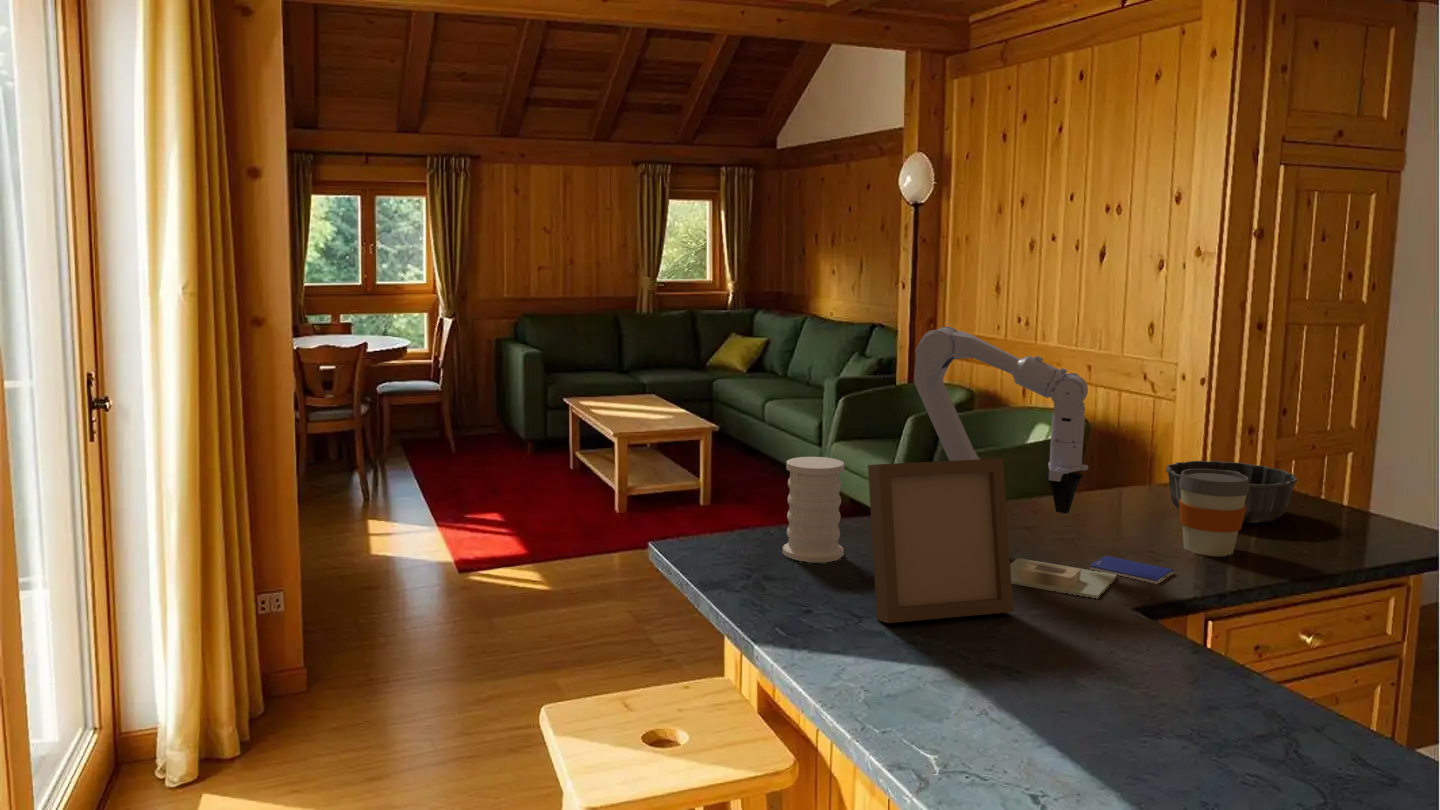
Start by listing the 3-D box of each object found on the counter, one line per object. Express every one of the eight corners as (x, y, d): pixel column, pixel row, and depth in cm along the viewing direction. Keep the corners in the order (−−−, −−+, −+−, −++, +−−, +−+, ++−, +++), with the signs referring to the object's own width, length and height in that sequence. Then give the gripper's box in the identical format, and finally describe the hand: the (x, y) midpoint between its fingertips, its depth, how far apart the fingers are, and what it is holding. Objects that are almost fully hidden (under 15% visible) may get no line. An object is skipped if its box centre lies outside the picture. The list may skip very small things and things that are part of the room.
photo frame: (1012, 617, 176) (1021, 465, 172) (887, 629, 171) (893, 471, 167) (968, 588, 190) (975, 447, 187) (851, 598, 185) (856, 452, 181)
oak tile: (1029, 571, 199) (1019, 580, 194) (1030, 560, 198) (1020, 569, 193) (1080, 580, 194) (1071, 589, 189) (1080, 569, 194) (1071, 577, 189)
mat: (993, 580, 195) (993, 577, 195) (1017, 561, 207) (1017, 558, 207) (1097, 599, 186) (1097, 595, 186) (1116, 577, 197) (1116, 574, 197)
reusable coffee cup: (1229, 542, 222) (1236, 469, 219) (1253, 560, 209) (1260, 483, 207) (1165, 539, 223) (1171, 467, 220) (1185, 557, 210) (1191, 481, 208)
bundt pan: (1139, 503, 254) (1142, 460, 252) (1241, 499, 258) (1245, 457, 257) (1209, 533, 228) (1213, 486, 227) (1321, 528, 233) (1325, 482, 231)
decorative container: (822, 567, 202) (825, 471, 199) (770, 555, 209) (772, 463, 206) (854, 553, 211) (857, 461, 208) (803, 542, 218) (806, 453, 215)
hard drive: (1089, 564, 202) (1157, 578, 194) (1107, 554, 208) (1173, 568, 200) (1089, 572, 202) (1156, 587, 194) (1106, 562, 208) (1173, 576, 200)
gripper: (1078, 449, 194) (1074, 523, 196) (1098, 436, 206) (1094, 507, 208) (1039, 444, 198) (1034, 517, 200) (1060, 432, 210) (1056, 501, 212)
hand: (1062, 512), depth 204 cm, fingers closed
